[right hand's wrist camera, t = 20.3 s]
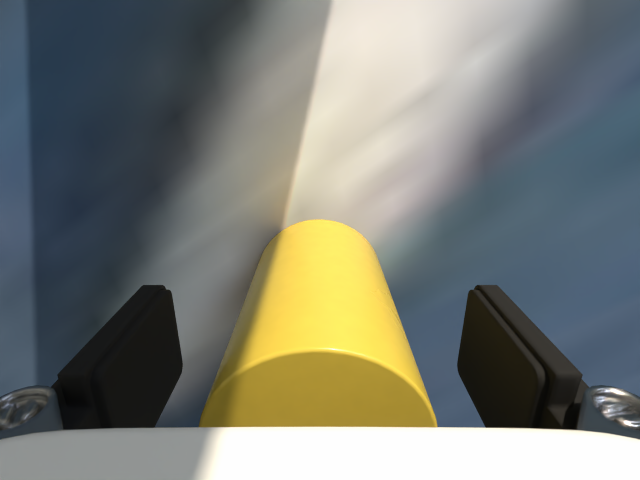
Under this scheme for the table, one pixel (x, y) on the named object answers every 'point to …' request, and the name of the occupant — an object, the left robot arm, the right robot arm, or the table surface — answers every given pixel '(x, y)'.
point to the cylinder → (318, 341)
